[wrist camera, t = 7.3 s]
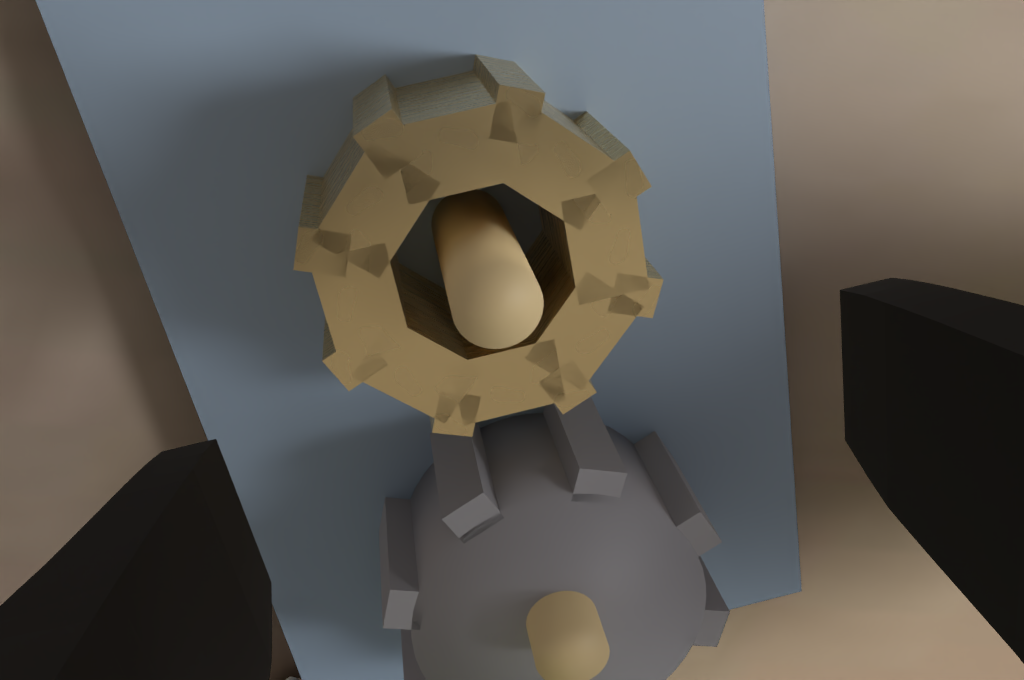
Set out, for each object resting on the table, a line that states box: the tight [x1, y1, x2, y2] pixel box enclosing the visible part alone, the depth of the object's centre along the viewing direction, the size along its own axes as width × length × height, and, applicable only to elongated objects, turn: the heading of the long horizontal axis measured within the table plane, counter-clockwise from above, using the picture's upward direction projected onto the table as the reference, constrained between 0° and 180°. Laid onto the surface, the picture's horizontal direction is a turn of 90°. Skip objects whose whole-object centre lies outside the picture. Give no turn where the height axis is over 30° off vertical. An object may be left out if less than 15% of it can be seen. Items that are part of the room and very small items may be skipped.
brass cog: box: [293, 55, 664, 437], centre depth 16 cm, size 6×6×3 cm
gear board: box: [36, 0, 802, 680], centre depth 17 cm, size 12×22×5 cm, turn 11°
